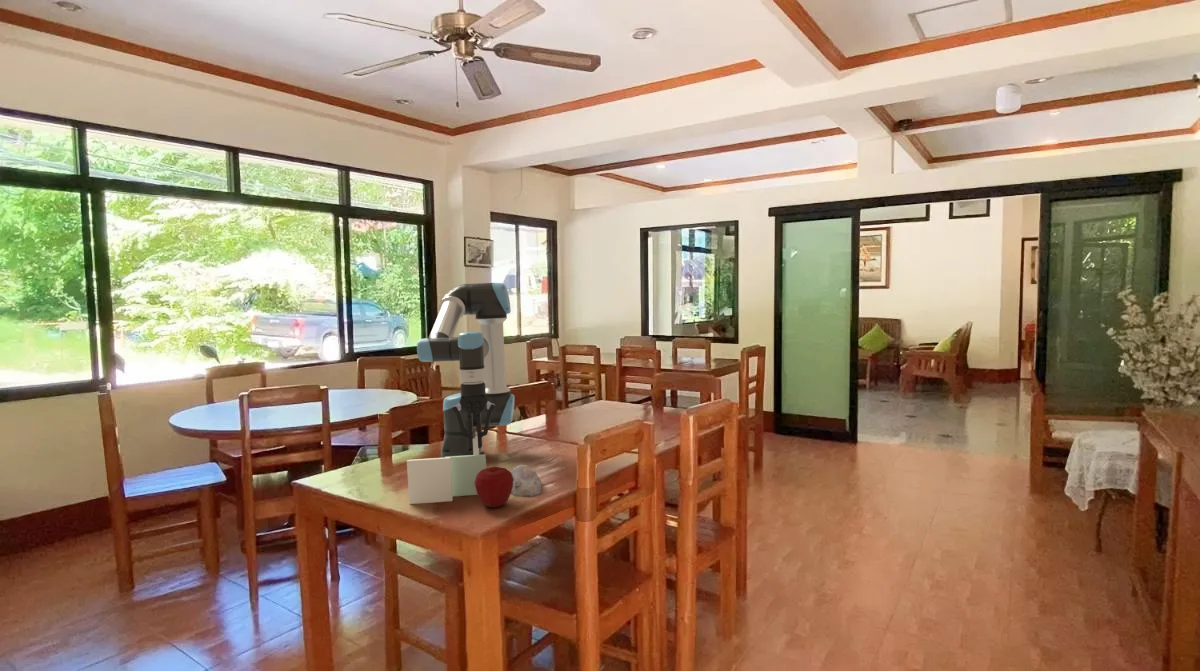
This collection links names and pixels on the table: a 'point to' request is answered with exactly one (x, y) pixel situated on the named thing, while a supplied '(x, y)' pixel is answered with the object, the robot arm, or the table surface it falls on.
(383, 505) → the table surface
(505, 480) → the apple
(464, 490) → the door
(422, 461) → the wall
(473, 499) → the table surface
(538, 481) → the stone
